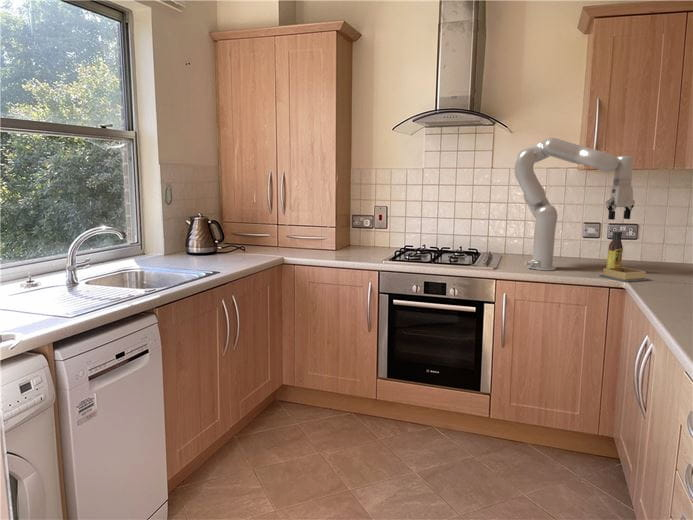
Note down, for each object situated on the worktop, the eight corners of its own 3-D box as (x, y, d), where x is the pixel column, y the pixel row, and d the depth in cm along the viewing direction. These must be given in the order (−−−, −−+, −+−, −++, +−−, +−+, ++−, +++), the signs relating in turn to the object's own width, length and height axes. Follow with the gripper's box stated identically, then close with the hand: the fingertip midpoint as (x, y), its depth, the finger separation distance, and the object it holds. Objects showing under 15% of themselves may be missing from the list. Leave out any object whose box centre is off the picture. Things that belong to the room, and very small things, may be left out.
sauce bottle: (616, 273, 248) (620, 232, 244) (603, 271, 253) (607, 230, 249) (623, 272, 251) (627, 231, 248) (610, 270, 256) (614, 230, 253)
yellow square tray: (625, 282, 228) (626, 273, 228) (599, 276, 241) (600, 268, 240) (648, 280, 233) (649, 272, 233) (622, 274, 246) (622, 266, 245)
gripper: (615, 182, 238) (611, 220, 241) (642, 182, 245) (639, 219, 247) (601, 182, 245) (598, 219, 248) (629, 182, 251) (625, 218, 254)
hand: (619, 219), depth 248 cm, fingers open, 9 cm apart
